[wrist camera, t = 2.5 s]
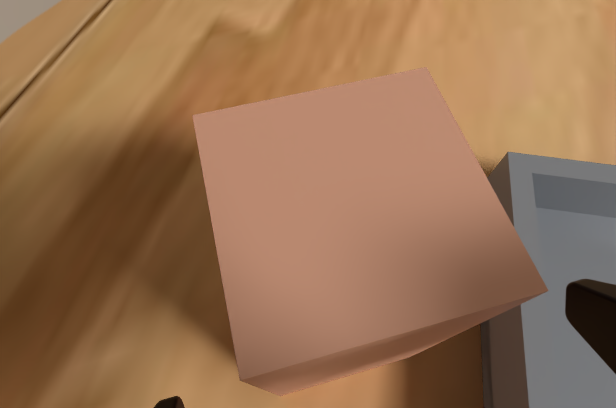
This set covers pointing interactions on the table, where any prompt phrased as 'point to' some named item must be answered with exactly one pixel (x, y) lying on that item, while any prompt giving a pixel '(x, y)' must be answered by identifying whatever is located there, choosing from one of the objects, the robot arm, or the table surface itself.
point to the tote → (552, 284)
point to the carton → (353, 230)
